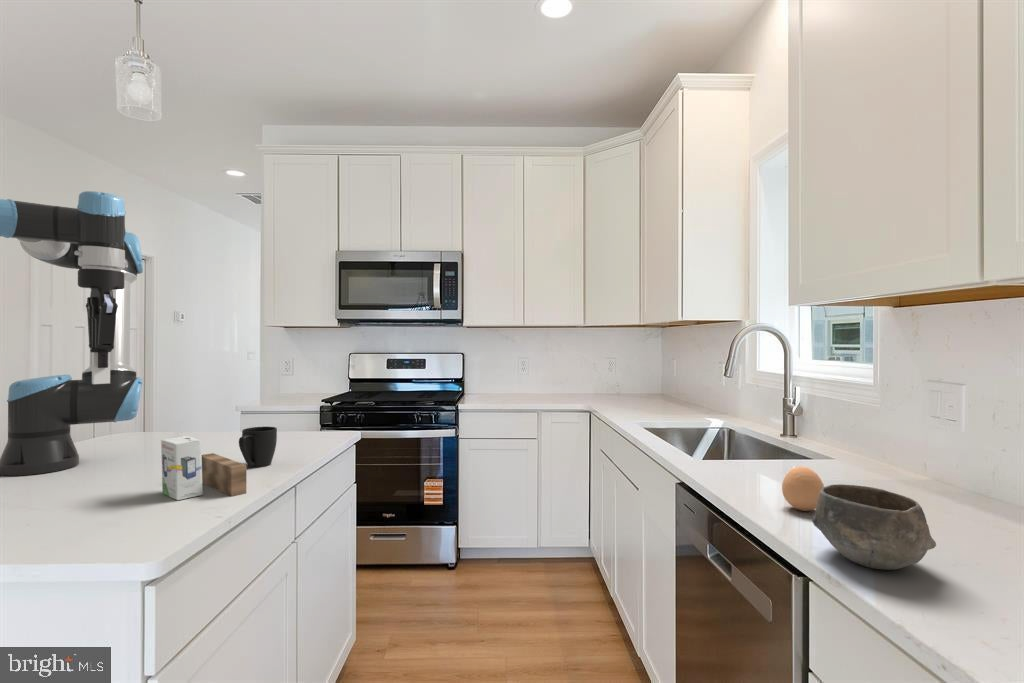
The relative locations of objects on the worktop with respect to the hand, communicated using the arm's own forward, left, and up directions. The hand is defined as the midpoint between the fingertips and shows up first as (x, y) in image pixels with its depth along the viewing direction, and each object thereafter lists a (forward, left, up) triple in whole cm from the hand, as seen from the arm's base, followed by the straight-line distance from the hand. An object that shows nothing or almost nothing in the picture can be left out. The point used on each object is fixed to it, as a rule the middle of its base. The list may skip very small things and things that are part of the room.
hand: (101, 383), depth 106 cm
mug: (-2, +32, -24) cm, 40 cm away
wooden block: (+11, +19, -24) cm, 32 cm away
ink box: (+10, +12, -24) cm, 29 cm away
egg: (+114, +86, -24) cm, 145 cm away
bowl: (+126, +66, -24) cm, 144 cm away
